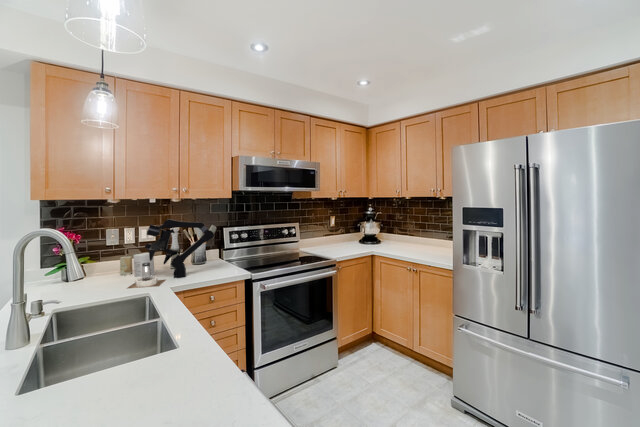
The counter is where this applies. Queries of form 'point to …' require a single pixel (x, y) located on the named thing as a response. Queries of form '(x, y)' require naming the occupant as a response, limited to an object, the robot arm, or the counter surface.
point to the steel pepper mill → (146, 271)
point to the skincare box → (125, 265)
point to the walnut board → (147, 286)
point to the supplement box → (138, 263)
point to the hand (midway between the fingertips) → (157, 262)
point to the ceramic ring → (146, 282)
